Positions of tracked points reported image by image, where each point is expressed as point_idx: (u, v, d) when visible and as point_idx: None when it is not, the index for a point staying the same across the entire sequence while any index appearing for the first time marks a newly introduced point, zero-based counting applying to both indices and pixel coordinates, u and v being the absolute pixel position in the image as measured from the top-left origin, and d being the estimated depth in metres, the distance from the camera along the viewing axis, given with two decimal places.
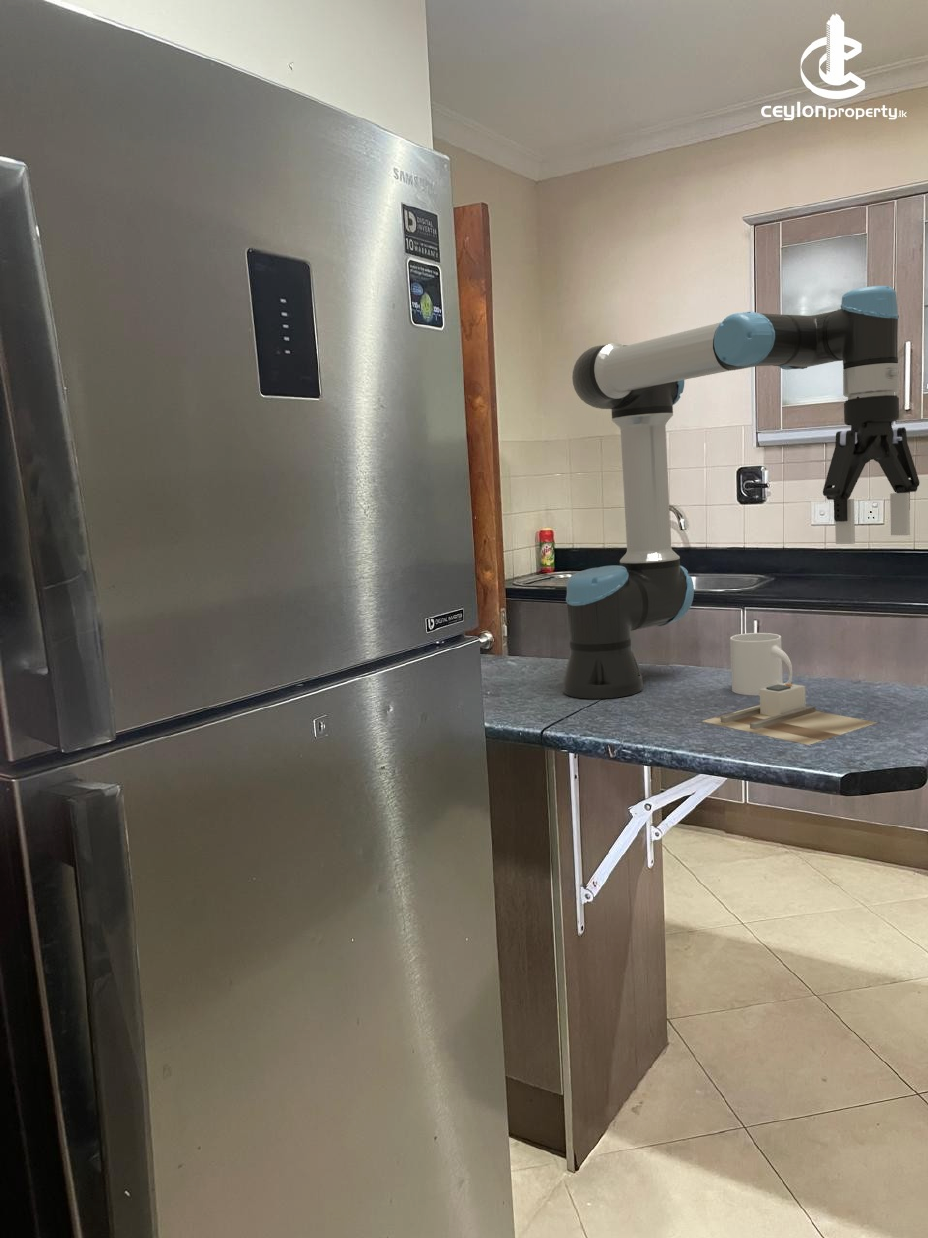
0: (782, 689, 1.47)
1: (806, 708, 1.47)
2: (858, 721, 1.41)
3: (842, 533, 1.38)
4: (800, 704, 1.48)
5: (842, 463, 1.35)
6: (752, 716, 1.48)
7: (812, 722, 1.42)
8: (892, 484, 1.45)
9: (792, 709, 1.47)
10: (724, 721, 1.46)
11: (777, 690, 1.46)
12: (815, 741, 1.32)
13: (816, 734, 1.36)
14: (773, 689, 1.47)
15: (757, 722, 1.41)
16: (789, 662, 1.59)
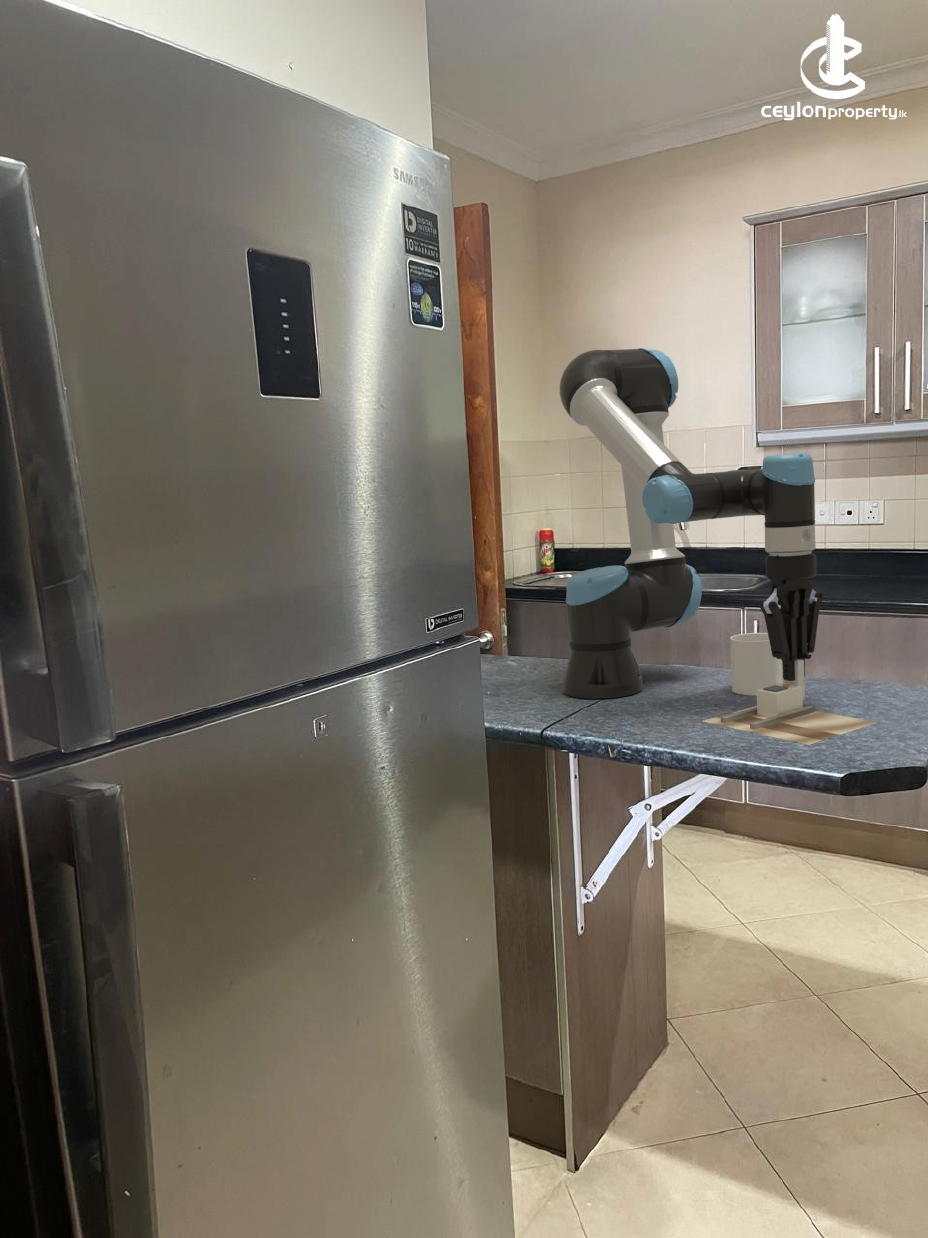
0: (779, 690, 1.46)
1: (806, 708, 1.47)
2: (858, 721, 1.41)
3: None
4: (797, 705, 1.48)
5: (778, 632, 1.46)
6: (752, 716, 1.48)
7: (812, 722, 1.42)
8: None
9: (789, 710, 1.47)
10: (724, 721, 1.46)
11: (774, 691, 1.46)
12: (815, 741, 1.32)
13: (816, 734, 1.36)
14: (770, 690, 1.47)
15: (757, 722, 1.41)
16: None
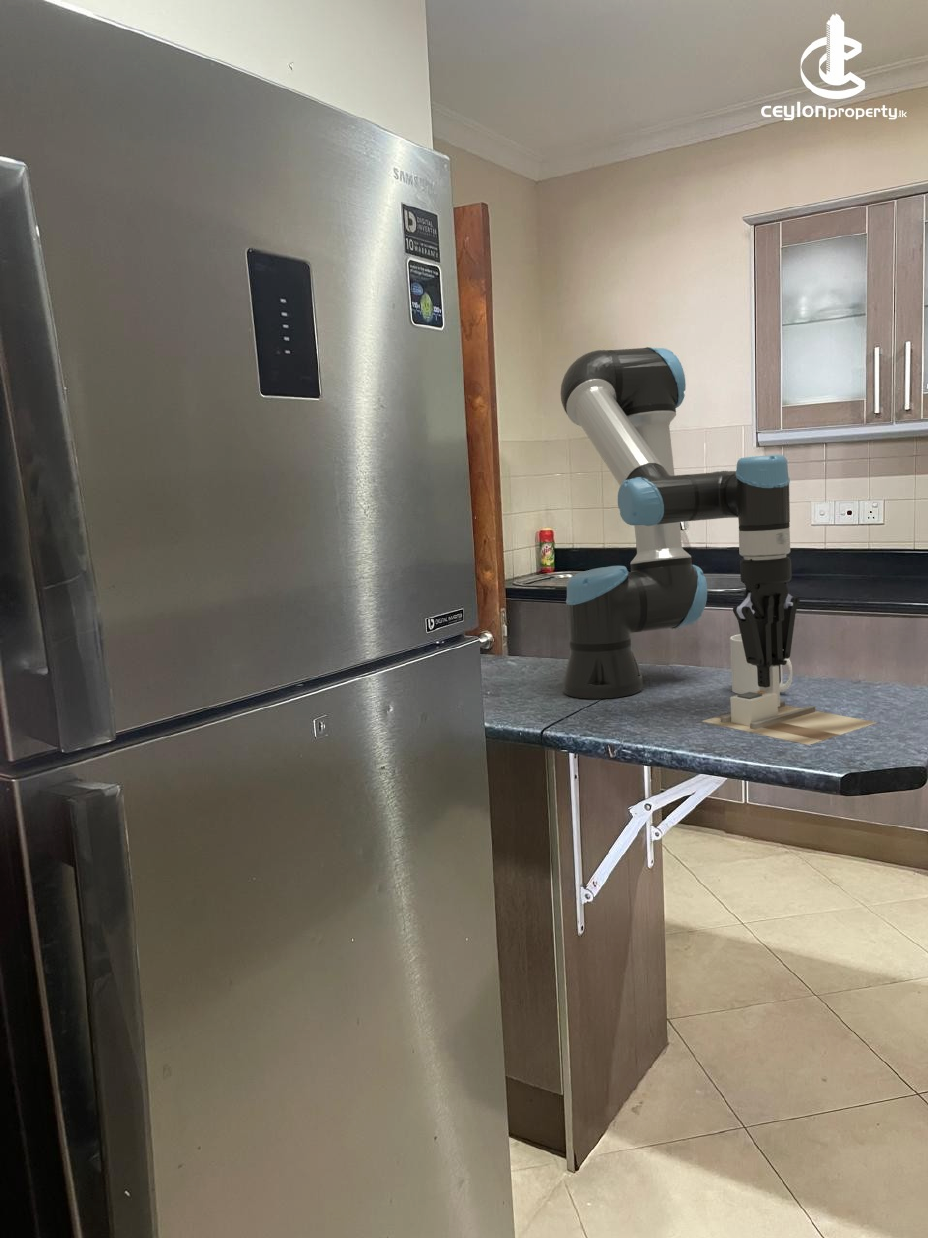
0: (753, 697, 1.43)
1: (806, 708, 1.47)
2: (858, 721, 1.41)
3: None
4: (771, 712, 1.44)
5: (751, 638, 1.42)
6: None
7: (812, 722, 1.42)
8: None
9: (763, 717, 1.44)
10: (724, 721, 1.46)
11: (748, 698, 1.43)
12: (815, 741, 1.32)
13: (816, 734, 1.36)
14: (744, 697, 1.44)
15: (757, 722, 1.41)
16: (789, 662, 1.59)
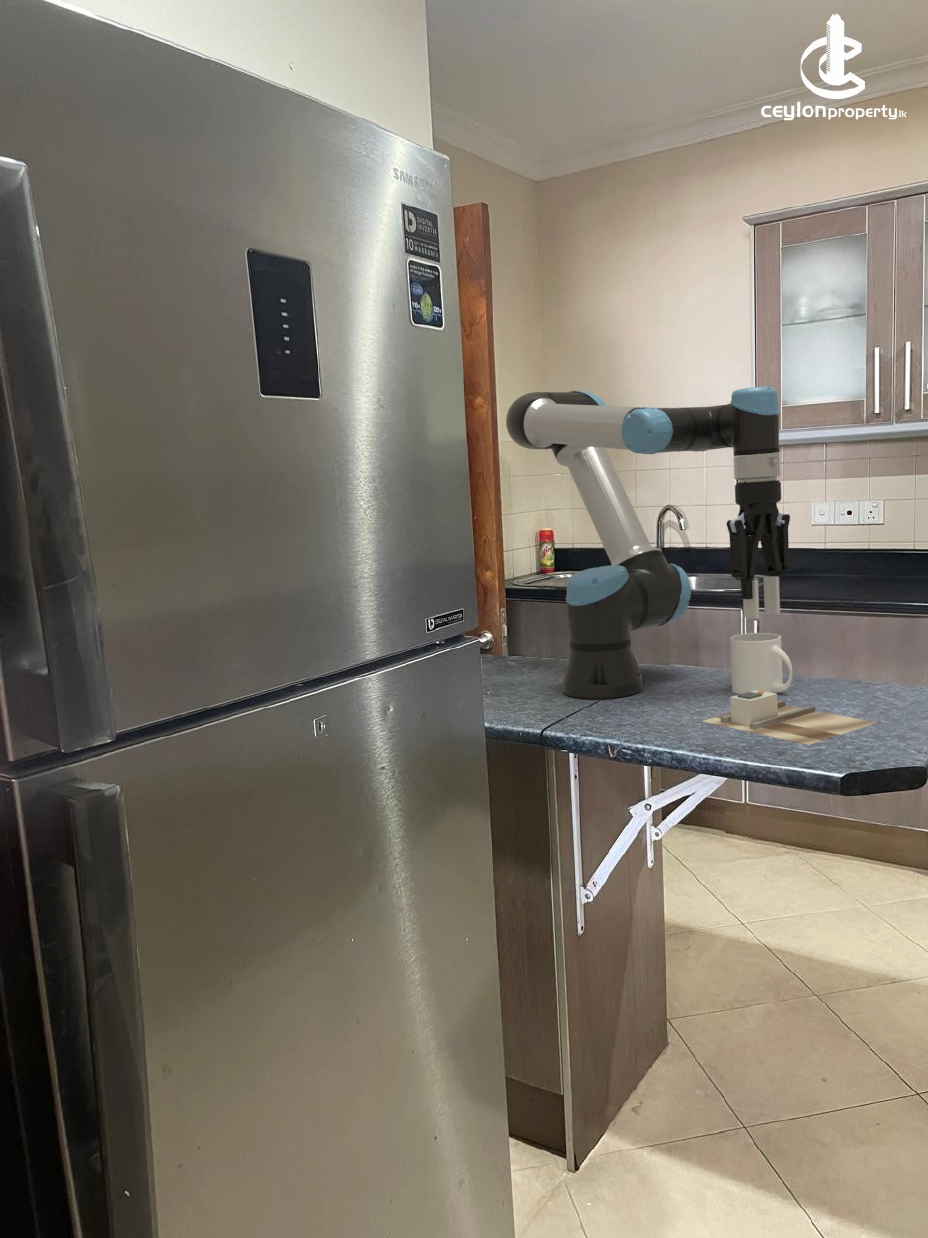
0: (753, 697, 1.43)
1: (806, 708, 1.47)
2: (858, 721, 1.41)
3: (748, 609, 1.61)
4: (771, 712, 1.44)
5: (739, 550, 1.57)
6: None
7: (812, 722, 1.42)
8: (766, 565, 1.63)
9: (763, 717, 1.44)
10: (724, 721, 1.46)
11: (748, 698, 1.43)
12: (815, 741, 1.32)
13: (816, 734, 1.36)
14: (744, 697, 1.44)
15: (757, 722, 1.41)
16: (789, 662, 1.59)
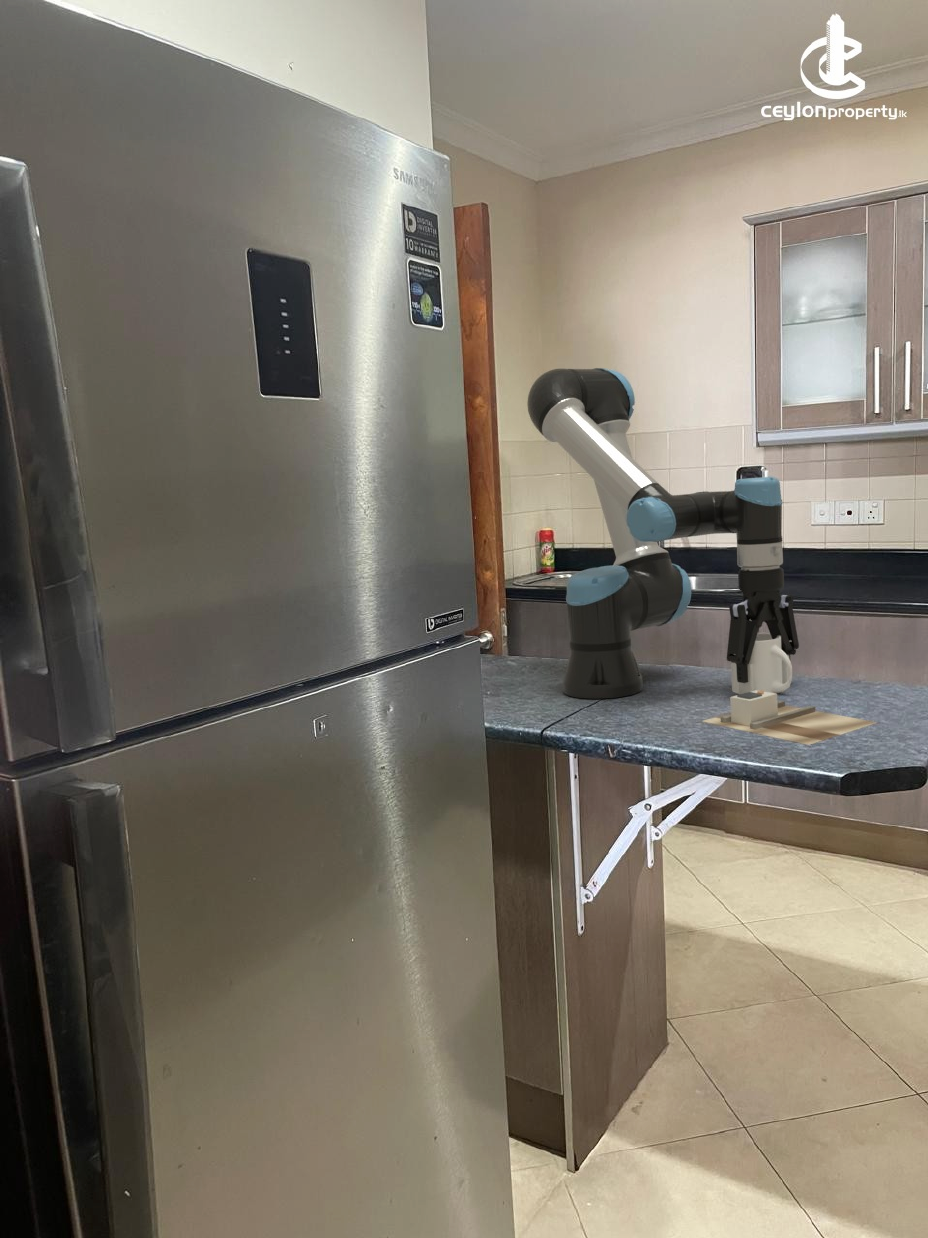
0: (753, 697, 1.43)
1: (806, 708, 1.47)
2: (858, 721, 1.41)
3: (744, 691, 1.62)
4: (771, 712, 1.44)
5: (738, 635, 1.58)
6: None
7: (812, 722, 1.42)
8: None
9: (763, 717, 1.44)
10: (724, 721, 1.46)
11: (748, 698, 1.43)
12: (815, 741, 1.32)
13: (816, 734, 1.36)
14: (744, 697, 1.44)
15: (757, 722, 1.41)
16: (788, 662, 1.58)
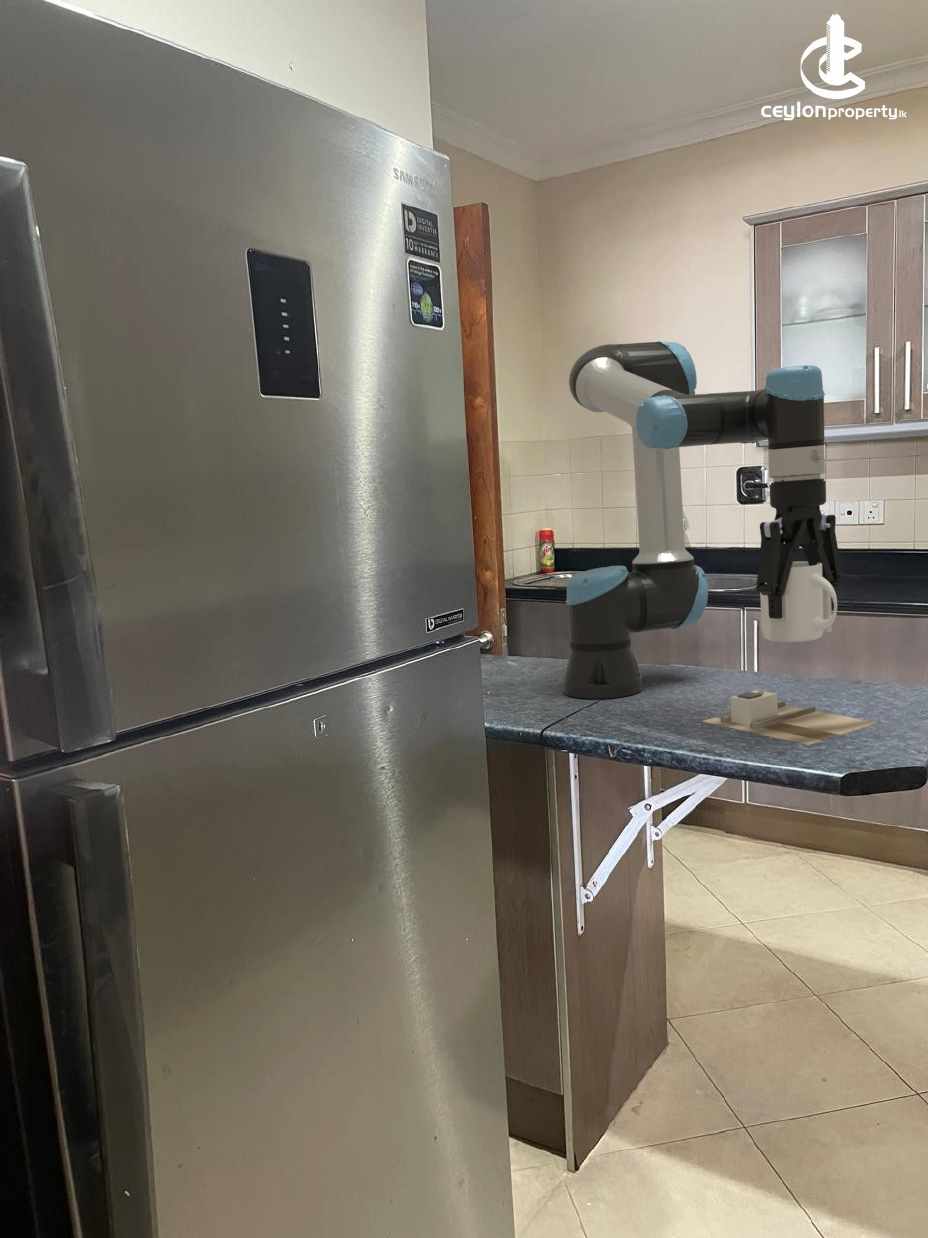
0: (753, 697, 1.43)
1: (806, 708, 1.47)
2: (858, 721, 1.41)
3: (777, 630, 1.33)
4: (771, 712, 1.44)
5: (771, 559, 1.29)
6: None
7: (812, 722, 1.42)
8: None
9: (763, 717, 1.44)
10: (724, 721, 1.46)
11: (748, 698, 1.43)
12: (815, 741, 1.32)
13: (816, 734, 1.36)
14: (744, 697, 1.44)
15: (757, 722, 1.41)
16: (833, 592, 1.30)
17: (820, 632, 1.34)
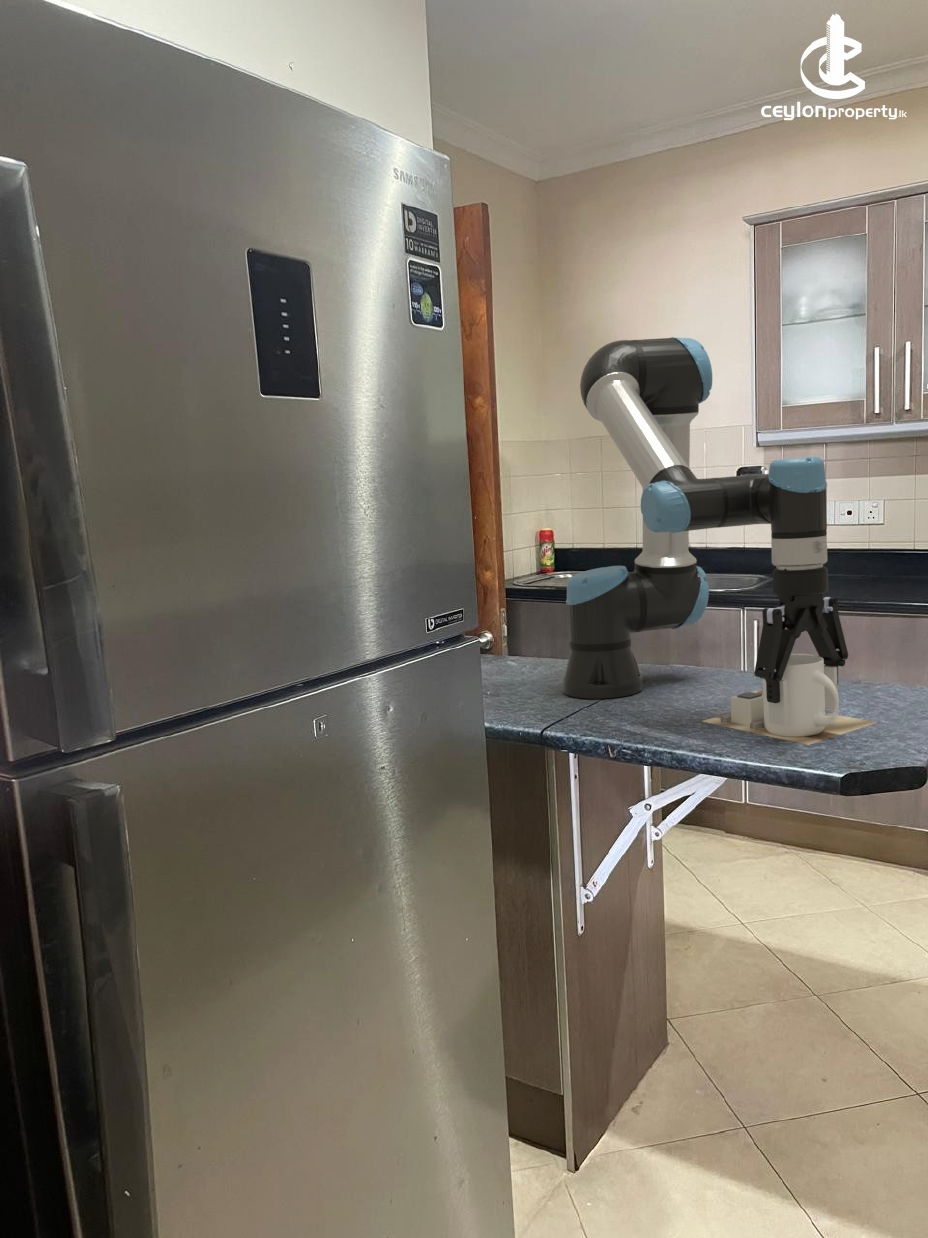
0: (753, 697, 1.43)
1: None
2: (858, 721, 1.41)
3: (775, 713, 1.34)
4: None
5: (771, 645, 1.31)
6: None
7: None
8: (820, 655, 1.39)
9: (763, 717, 1.44)
10: (724, 721, 1.46)
11: (748, 698, 1.43)
12: (815, 741, 1.32)
13: (816, 734, 1.36)
14: (744, 697, 1.44)
15: (757, 722, 1.41)
16: (835, 690, 1.31)
17: (822, 727, 1.36)
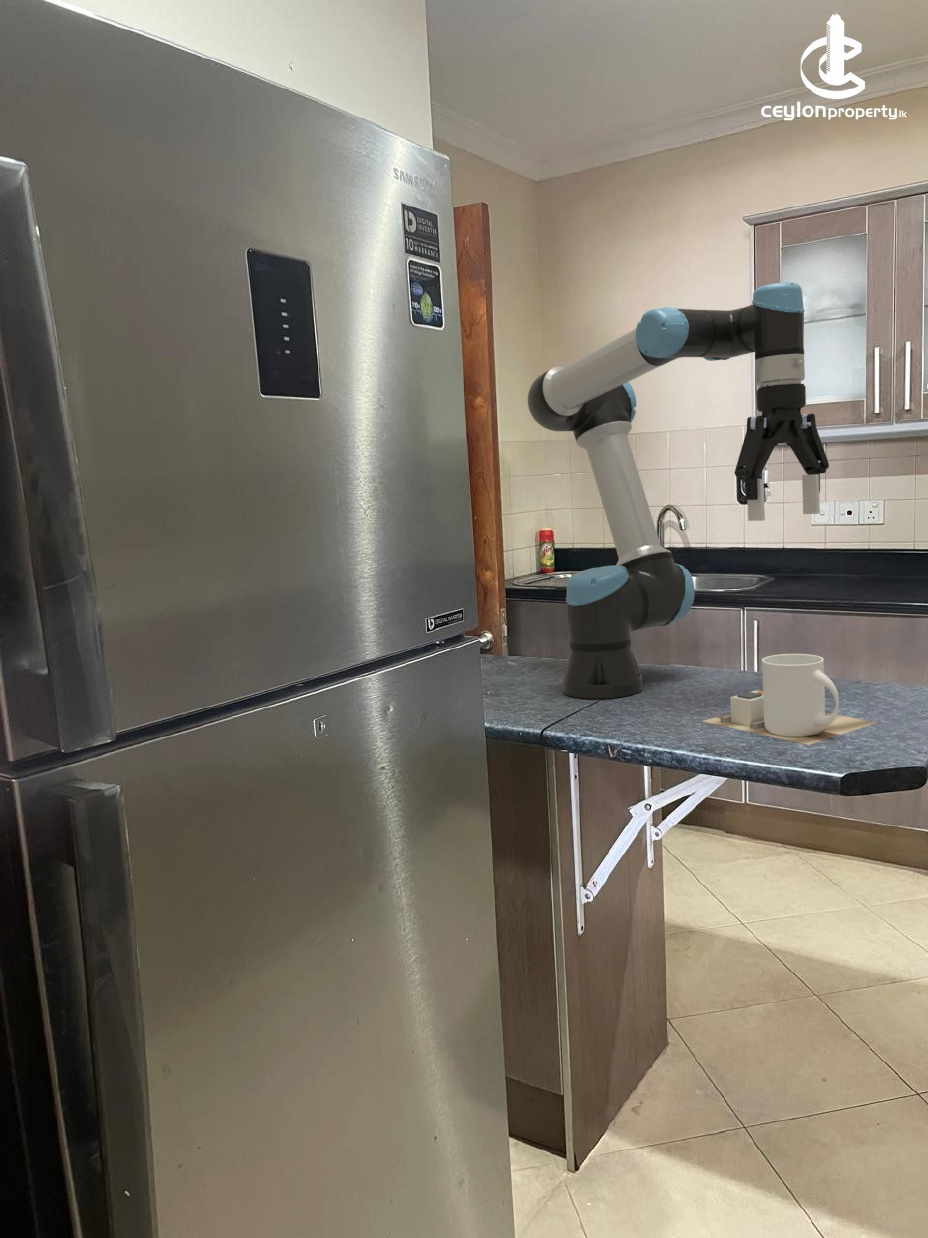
0: (753, 697, 1.43)
1: None
2: (858, 721, 1.41)
3: (753, 511, 1.49)
4: None
5: (751, 446, 1.46)
6: None
7: None
8: (803, 466, 1.56)
9: (763, 717, 1.44)
10: (724, 721, 1.46)
11: (748, 698, 1.43)
12: (815, 741, 1.32)
13: (816, 734, 1.36)
14: (744, 697, 1.44)
15: (757, 722, 1.41)
16: (835, 691, 1.31)
17: (822, 727, 1.36)
